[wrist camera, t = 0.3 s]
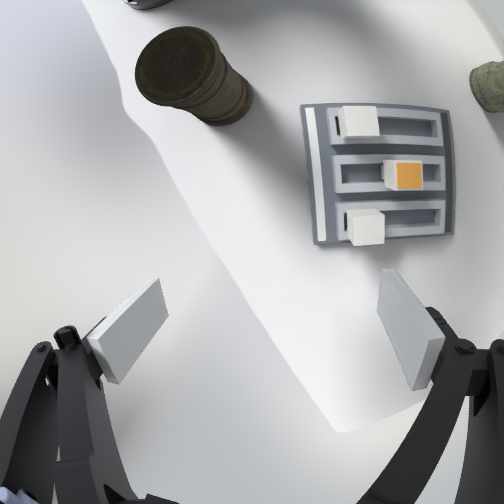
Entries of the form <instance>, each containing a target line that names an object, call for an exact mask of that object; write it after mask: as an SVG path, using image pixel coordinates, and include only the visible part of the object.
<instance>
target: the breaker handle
mask: <svg viewBox="0 0 504 504" xmlns="http://www.w3.org/2000/svg"><path fill="white" fill-rule="evenodd" d="M381 176H382V179H384V183H385V187H387V188H390V189H393V190H423V169H422V161H418V160H383V165H381Z"/></svg>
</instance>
